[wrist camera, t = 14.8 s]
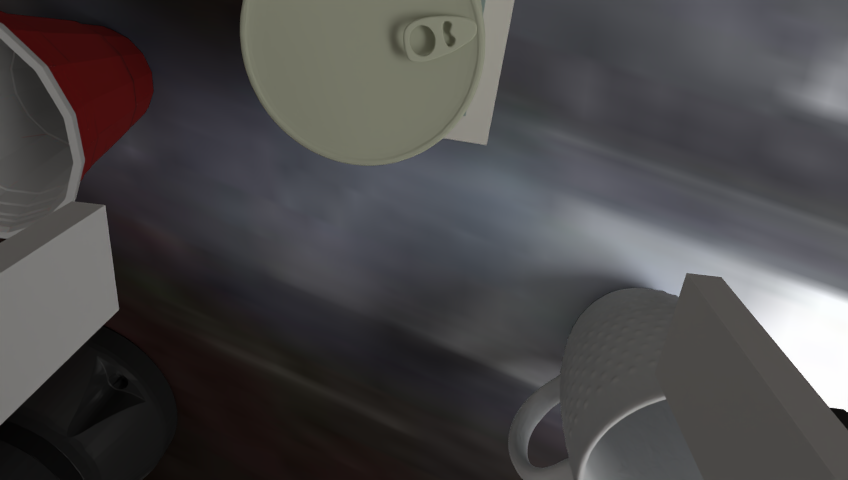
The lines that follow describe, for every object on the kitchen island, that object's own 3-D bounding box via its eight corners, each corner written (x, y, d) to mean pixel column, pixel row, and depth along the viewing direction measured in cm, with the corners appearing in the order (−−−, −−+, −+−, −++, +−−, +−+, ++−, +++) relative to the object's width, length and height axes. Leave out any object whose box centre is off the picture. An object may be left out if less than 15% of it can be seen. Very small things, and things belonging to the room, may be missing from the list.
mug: (544, 438, 45) (569, 608, 33) (466, 331, 41) (463, 477, 29) (740, 355, 40) (851, 515, 29) (671, 227, 37) (764, 349, 25)
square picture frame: (288, 109, 36) (283, 113, 35) (298, -122, 31) (293, -124, 30) (486, 141, 36) (486, 145, 35) (529, -85, 31) (531, -87, 30)
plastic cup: (17, 138, 38) (-167, 206, 27) (17, -44, 33) (-204, -49, 22) (185, 188, 38) (71, 275, 28) (207, 16, 34) (81, 39, 23)
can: (493, 92, 34) (502, 152, 23) (335, 118, 35) (272, 187, 24) (469, -92, 30) (467, -126, 19) (294, -56, 31) (197, -68, 20)
